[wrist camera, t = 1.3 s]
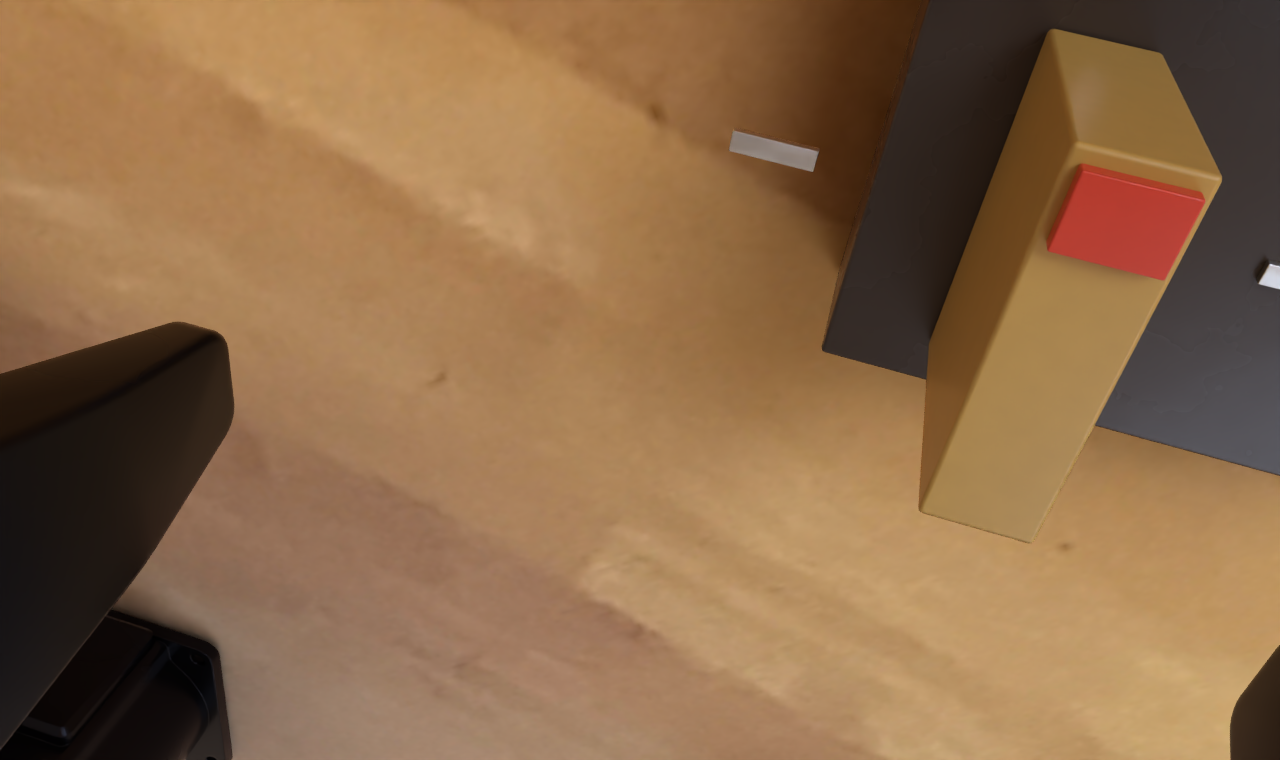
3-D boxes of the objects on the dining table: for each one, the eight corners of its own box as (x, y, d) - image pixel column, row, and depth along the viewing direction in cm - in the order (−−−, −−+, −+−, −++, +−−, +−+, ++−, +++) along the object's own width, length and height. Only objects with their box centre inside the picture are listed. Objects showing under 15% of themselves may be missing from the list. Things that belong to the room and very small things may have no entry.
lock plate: (1369, 478, 21) (1424, 591, 18) (711, 300, 22) (678, 382, 20) (2055, -440, 12) (2340, -468, 10) (920, -619, 14) (908, -683, 11)
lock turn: (1020, 369, 18) (1033, 558, 14) (927, 344, 18) (915, 524, 14) (1164, 52, 15) (1231, 186, 11) (1048, 26, 15) (1075, 149, 11)
